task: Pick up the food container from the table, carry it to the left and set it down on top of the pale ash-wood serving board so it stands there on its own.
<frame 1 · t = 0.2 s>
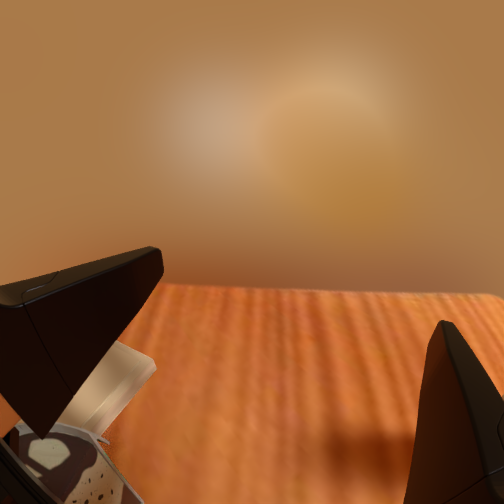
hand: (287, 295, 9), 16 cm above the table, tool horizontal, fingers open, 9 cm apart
serving board: (48, 391, 23), on the table
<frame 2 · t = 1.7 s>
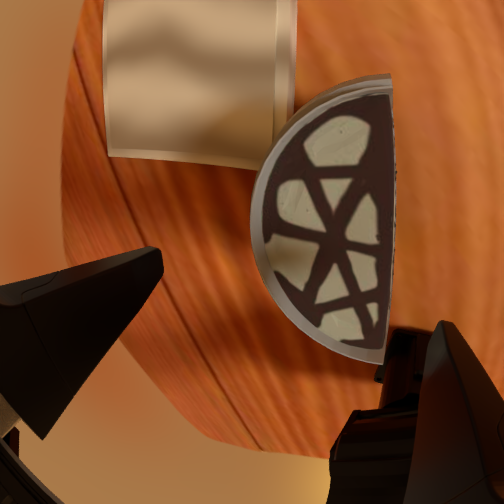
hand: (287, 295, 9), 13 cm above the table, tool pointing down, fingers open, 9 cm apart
serving board: (192, 56, 20), on the table
food container: (349, 178, 20), on the table
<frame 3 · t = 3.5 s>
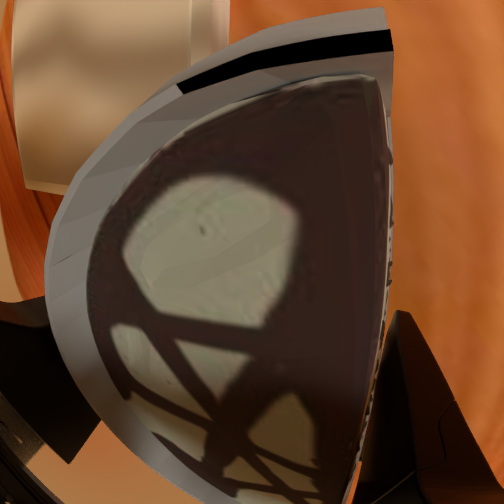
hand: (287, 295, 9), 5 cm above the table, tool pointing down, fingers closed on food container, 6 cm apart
serving board: (102, 53, 13), on the table
food container: (318, 227, 13), on the table, touching gripper
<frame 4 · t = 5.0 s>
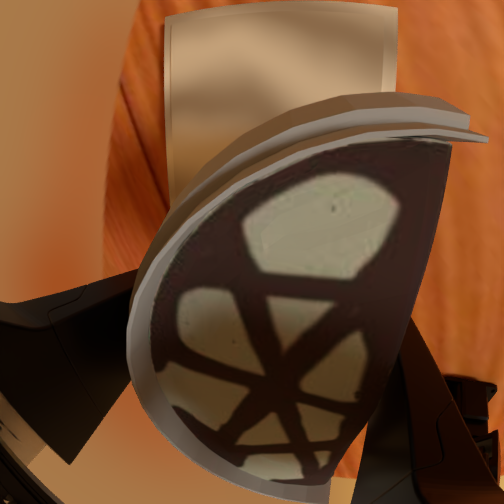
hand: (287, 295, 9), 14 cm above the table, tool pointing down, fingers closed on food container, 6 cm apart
serving board: (274, 115, 21), on the table
food container: (287, 227, 15), point 8 cm above the table, touching gripper
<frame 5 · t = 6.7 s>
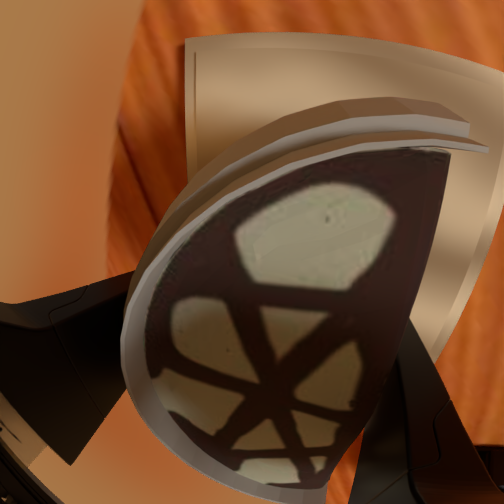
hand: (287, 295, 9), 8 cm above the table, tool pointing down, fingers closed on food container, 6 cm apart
serving board: (340, 195, 16), on the table, touching food container
food container: (285, 229, 15), point 2 cm above the table, touching gripper, serving board
when the fingers open (8 cm above the table, at t = 6.8 s): food container stays where it is, resting on serving board.
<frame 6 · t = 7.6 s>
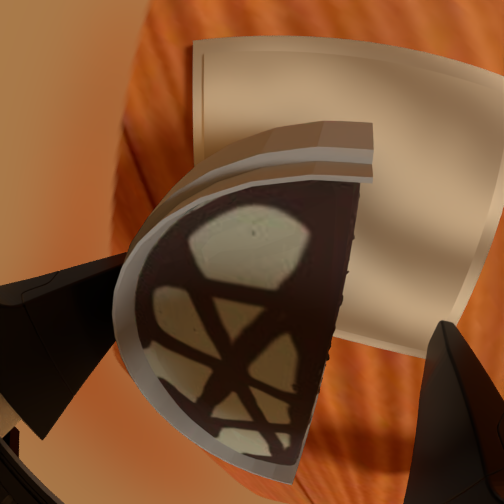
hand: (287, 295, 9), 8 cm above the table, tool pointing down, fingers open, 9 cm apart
serving board: (344, 196, 16), on the table, touching food container
food container: (290, 223, 16), point 1 cm above the table, touching serving board
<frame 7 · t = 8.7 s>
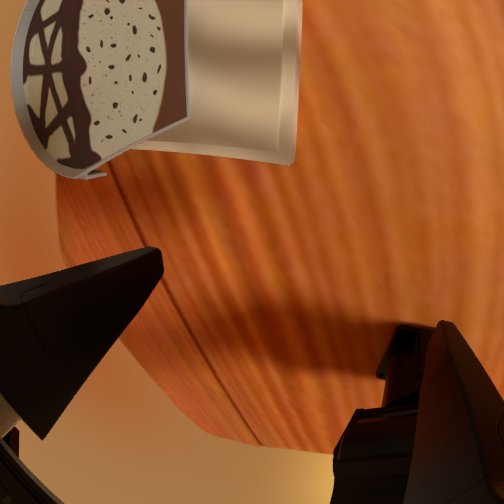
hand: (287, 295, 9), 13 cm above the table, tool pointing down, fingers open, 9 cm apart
serving board: (194, 45, 19), on the table, touching food container
food container: (154, 58, 19), point 1 cm above the table, touching serving board
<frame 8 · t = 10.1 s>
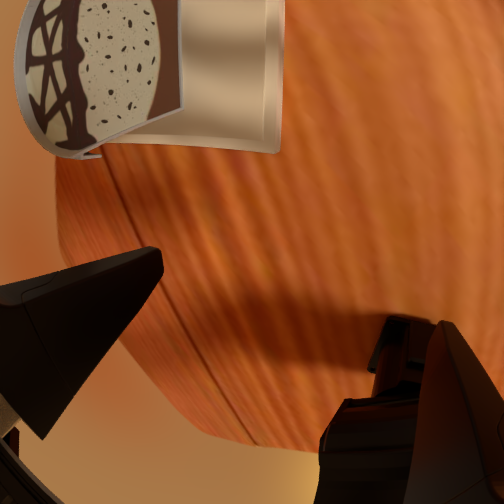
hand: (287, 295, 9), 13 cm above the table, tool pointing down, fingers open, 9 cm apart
serving board: (186, 43, 20), on the table, touching food container
food container: (150, 54, 19), point 1 cm above the table, touching serving board
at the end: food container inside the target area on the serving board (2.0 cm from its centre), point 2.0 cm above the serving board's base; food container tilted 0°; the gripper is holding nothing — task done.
